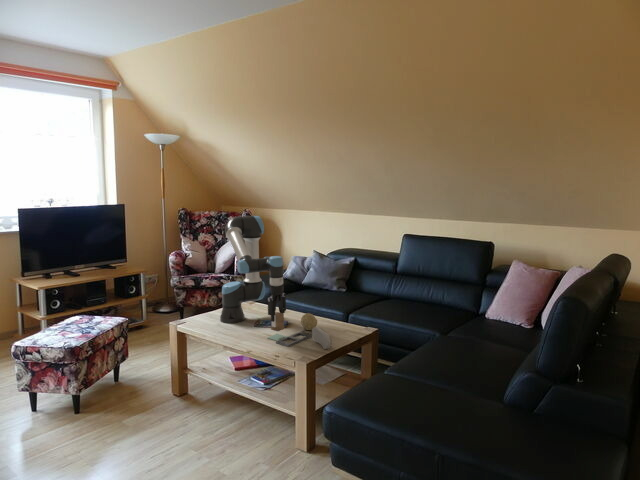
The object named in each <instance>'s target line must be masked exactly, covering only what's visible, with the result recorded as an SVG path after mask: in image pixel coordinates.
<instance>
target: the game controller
mask: <svg viewBox="0 0 640 480" xmlns="http://www.w3.org/2000/svg"><path fill="white" fill-rule="evenodd" d="M311 333H312V340H313V342H315V343H318V344H319V345H321V347H322V348H323V349H324V350H328V349H330V348H331V344H332V343H331V337H330V335H329V334H328V333H327V332H326V331H324V330H322V329H321V328H320V327H319V326H316V327H314V328H313V329H312V330H311Z"/></svg>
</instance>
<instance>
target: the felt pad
mask: <svg viewBox="0 0 640 480" xmlns="http://www.w3.org/2000/svg"><path fill="white" fill-rule="evenodd" d="M288 336H289V335H288ZM288 336H287V335H284V334H279V333H275V334H273V335H270V336H268V337H266V338H267V339H268V340H271V341H275V342H276V341H279V340H281V339H283V338H286V337H288Z"/></svg>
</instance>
